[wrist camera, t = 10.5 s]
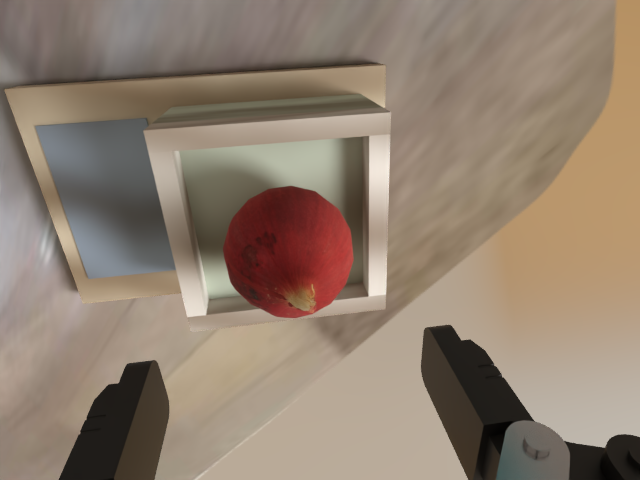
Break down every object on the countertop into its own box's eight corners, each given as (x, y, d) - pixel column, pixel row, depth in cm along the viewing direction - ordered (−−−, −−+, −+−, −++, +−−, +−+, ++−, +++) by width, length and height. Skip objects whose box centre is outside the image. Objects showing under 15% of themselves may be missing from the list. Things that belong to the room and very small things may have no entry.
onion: (241, 273, 23) (236, 379, 16) (216, 176, 21) (197, 253, 14) (342, 254, 24) (380, 350, 17) (331, 157, 21) (370, 222, 14)
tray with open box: (18, 86, 24) (-86, 108, 17) (379, 63, 26) (424, 74, 19) (91, 291, 30) (38, 372, 23) (376, 261, 32) (409, 326, 25)
